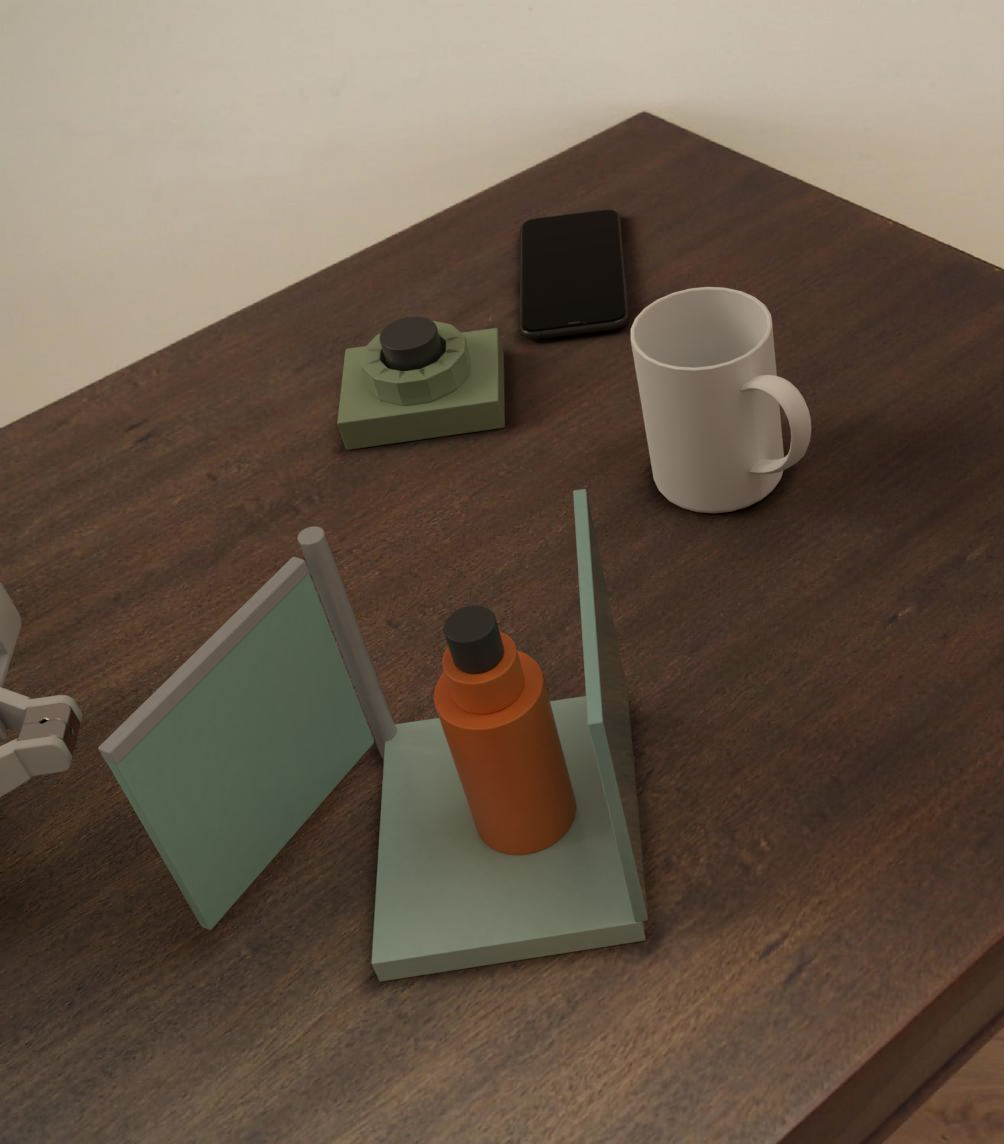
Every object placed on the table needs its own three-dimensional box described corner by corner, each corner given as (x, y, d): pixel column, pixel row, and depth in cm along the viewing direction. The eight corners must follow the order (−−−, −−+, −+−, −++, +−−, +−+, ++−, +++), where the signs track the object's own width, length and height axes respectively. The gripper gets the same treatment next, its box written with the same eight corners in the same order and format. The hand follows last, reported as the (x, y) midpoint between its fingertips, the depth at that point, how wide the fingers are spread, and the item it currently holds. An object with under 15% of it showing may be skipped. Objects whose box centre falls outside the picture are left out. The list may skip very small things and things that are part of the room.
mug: (627, 473, 94) (601, 328, 87) (727, 413, 98) (710, 270, 90) (759, 571, 87) (743, 423, 80) (862, 503, 91) (855, 355, 83)
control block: (346, 450, 98) (328, 399, 95) (353, 375, 104) (337, 325, 101) (505, 428, 98) (492, 376, 96) (504, 354, 104) (492, 303, 101)
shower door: (181, 917, 71) (75, 738, 62) (346, 731, 78) (273, 548, 70) (211, 931, 70) (109, 753, 61) (376, 742, 77) (305, 559, 69)
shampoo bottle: (475, 862, 72) (409, 673, 63) (476, 782, 76) (413, 591, 67) (578, 847, 73) (527, 655, 64) (574, 767, 76) (525, 575, 67)
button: (384, 376, 97) (377, 353, 96) (387, 343, 100) (380, 320, 98) (442, 368, 97) (436, 345, 96) (443, 335, 100) (437, 312, 99)
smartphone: (521, 228, 115) (520, 344, 104) (519, 218, 115) (518, 334, 104) (621, 215, 116) (630, 330, 105) (619, 205, 115) (629, 320, 104)
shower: (365, 984, 70) (266, 772, 59) (381, 744, 80) (298, 527, 70) (652, 939, 70) (602, 721, 60) (631, 707, 81) (585, 486, 70)
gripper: (-397, 948, 57) (-15, 888, 57) (-216, 568, 72) (87, 523, 72) (-302, 1037, 61) (53, 980, 62) (-149, 662, 76) (136, 618, 77)
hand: (72, 731), depth 67 cm, fingers closed
